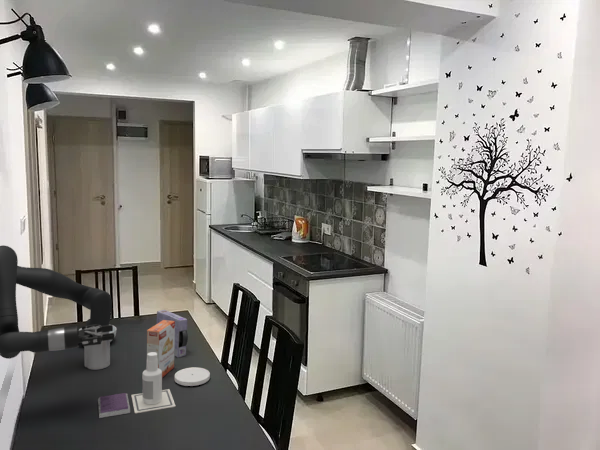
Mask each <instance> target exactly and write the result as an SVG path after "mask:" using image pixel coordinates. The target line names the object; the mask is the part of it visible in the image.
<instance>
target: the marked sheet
mask: <svg viewBox="0 0 600 450" xmlns="http://www.w3.org/2000/svg"><path fill="white" fill-rule="evenodd" d="M131 401H132V405H133V411H134V414H140V413H141V414H142V413H147V412H153V411H158V410H163V409H164V410H165V409H170V408H175V407H176V404H175V403H176V402H175V401H174V397H173V395H172V392H171V390H170V388H168V389H162V400H161V401H160V402H159V403H157V404H153V405H148V404H145V403H143V392H142V393H135V394H131Z"/></svg>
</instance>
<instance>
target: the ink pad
mask: <svg viewBox="0 0 600 450" xmlns="http://www.w3.org/2000/svg"><path fill="white" fill-rule="evenodd" d="M128 395H129V394H128V393H126V392H123V393H115V394H110V395H103V396H99V397H98V398H97V402H98V404H97V405H98V418H99V419H102V418H103V419H104V418H108V417H113V416H114V417H115V416H119V415H121V416H122V415H125V414H131V406H130V402H129V396H128Z"/></svg>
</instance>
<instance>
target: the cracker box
mask: <svg viewBox="0 0 600 450" xmlns="http://www.w3.org/2000/svg"><path fill="white" fill-rule="evenodd" d="M174 348H175V321H168V320H162V321H161V322H159V323H158V324H157V323H156V324H155V325H152V326H151V327H150V328H149V329H146V355H147V354H148V353H150V352H156V353H157V359H158V368H159V369H161V371H162V378H164V377H165V376H166V375H167V374H169V372H171V371H172V370H173V369H174V368H175V356H174Z"/></svg>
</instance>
